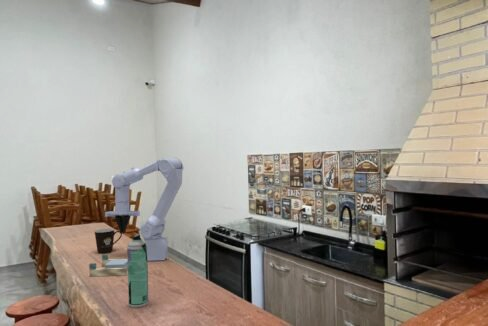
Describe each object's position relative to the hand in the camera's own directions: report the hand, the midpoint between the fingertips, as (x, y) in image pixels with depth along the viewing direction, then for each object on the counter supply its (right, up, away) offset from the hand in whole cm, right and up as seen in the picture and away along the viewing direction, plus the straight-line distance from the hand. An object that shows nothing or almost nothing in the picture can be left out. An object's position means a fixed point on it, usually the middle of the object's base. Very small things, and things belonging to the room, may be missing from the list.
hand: (122, 232), depth 155 cm
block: (+5, -11, -20) cm, 23 cm away
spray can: (+23, -11, -53) cm, 58 cm away
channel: (+3, -11, -20) cm, 23 cm away
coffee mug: (-10, -11, +9) cm, 17 cm away
